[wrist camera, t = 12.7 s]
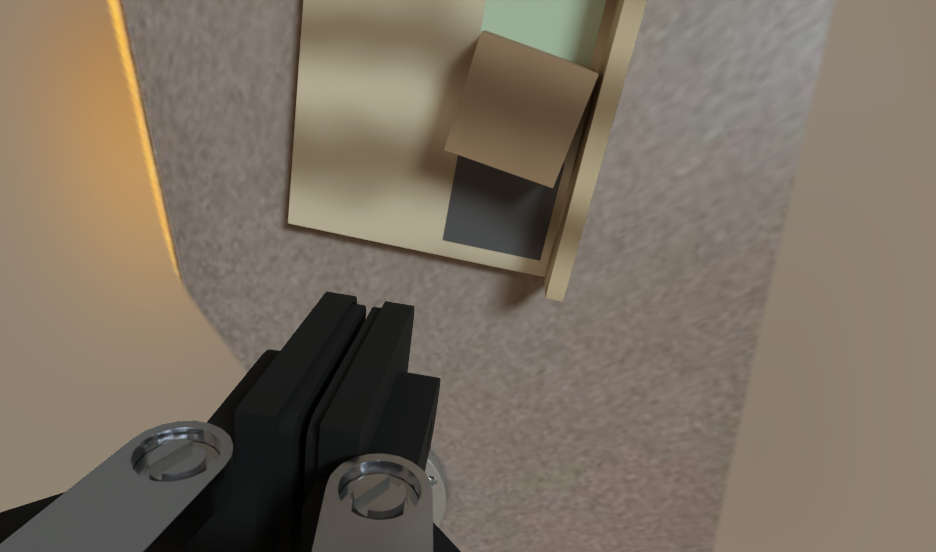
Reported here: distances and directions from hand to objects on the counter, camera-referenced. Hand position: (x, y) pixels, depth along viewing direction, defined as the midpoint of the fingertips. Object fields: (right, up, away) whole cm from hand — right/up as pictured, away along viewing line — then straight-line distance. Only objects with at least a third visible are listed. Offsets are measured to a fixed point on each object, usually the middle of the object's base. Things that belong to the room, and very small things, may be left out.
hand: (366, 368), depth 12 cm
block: (+5, +11, +22) cm, 25 cm away
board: (+1, +14, +22) cm, 26 cm away
